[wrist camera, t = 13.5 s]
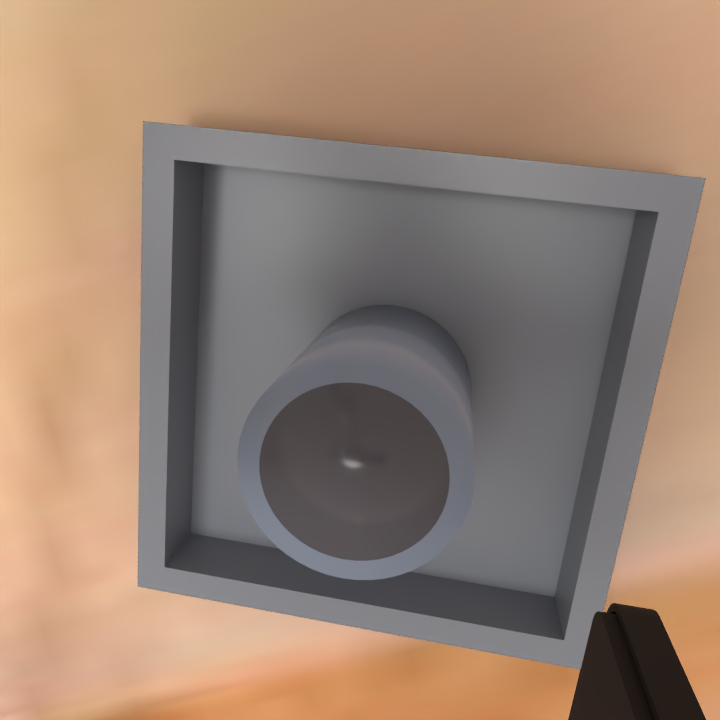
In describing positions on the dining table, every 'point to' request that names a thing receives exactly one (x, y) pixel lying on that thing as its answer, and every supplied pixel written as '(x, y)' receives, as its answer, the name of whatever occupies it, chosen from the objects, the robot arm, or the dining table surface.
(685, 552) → the dining table surface
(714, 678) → the dining table surface
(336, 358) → the cup
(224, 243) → the tray
